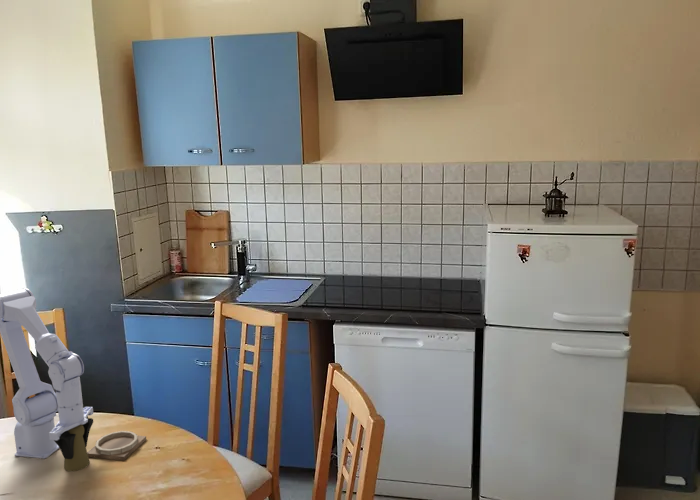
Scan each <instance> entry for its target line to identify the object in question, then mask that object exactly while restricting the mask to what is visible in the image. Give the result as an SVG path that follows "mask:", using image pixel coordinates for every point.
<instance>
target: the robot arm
mask: <svg viewBox="0 0 700 500" xmlns="http://www.w3.org/2000/svg"><path fill="white" fill-rule="evenodd" d="M36 309H37V300H36V297H35V295H34V293H33V291H31V290H30V289H29V288H27V287H26V288H25V287H23V288H21V289H17V290H13V291H10V292H9V291H8V292H4V293H0V336H1V338H2V342H3V345H4V347H5V351H6V352H7V356H8V359H9V361H10V364H11V367H12V370H13V372H14V376H15V378H16V382H17V384H18V388H19V389H18V390H17V392H16V393H15V395H14V396H13V398H12V399H11V401H12V406H13V407H12V408H13V414H14V415H13V416H14V417H15V418H14V419H15V420H16V424H15V427H14V430H13V431H14V432H13V436H14V442H15V443H14V444H15V450H16V452H15V453H14V456H16V457H23V458H24V457H25V458H32V459H33V458H35V459H47V458H49V457H50V456H51V455H52V454H54V453H55V452H56V451H57V450H60V452H61V454H62V456H63V459H72V458H73V454H74V452H73V444H74V439H75V436H76V434H70V432H68V430H69V429H72V428H74V427H76V426H78V425H80V424H81V425H83V427H84V434H83V439H84V443H85V446H86V448H87V446H88V442H89V434H90V431H91V428H92V426H93V424H94V419H93V418H91V417H89V416H92V415H93V414H94V408H93V406H84V404H83V403H84V402H83V396H82V395H83V394H82V384H81V378H80V377H81V376H82V375H83V374H84V371H85V365H84V362H83V360H82V358H81V357H80V355H79V354H77V353H74V351H71V350H70V351H69V349H67V346H66V345H65V344H64V343H63V342H62V340H61V338H60V337H59V336H58V335H57V334H56V333H50V332H49V330H48V329H47V328H48V327H46V325H45V324H44V323H45V322H44V321H43V320H42V318H41V316H40V315H39V313H38V311H37V310H36ZM23 328H24V329H25V330H26V332H27V333H28V334H29V335H30V336H31V338H33V339H34V340H35V342H36V343H35V346H34V348H35V350H36V351H37V353H38V355H40V357H41V359H42V360H43V361H44V363H45V364H46V365H47V366H48V371H47V373H48V376H49V379H50V380H51V383H52V384H50V383H46V382H43V381H41V379H40V375H39V373H38V370H37V367H36V364H35V362H34V359H33V356H32V353H31V350H30V348H29V345H28V342H27V339H26V337H25V333H24V331H23ZM28 397H29V398H28ZM57 413H58V422H57V423H56V424H55V417H57Z"/></svg>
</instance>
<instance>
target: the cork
mask: <svg viewBox="0 0 700 500" xmlns="http://www.w3.org/2000/svg"><path fill="white" fill-rule="evenodd" d="M68 432H70V434H76V436H75V439H74V444H73V452H74V454H73V458H72V459H64V458H63V459H64V460H63V469H64V470H65V471H66V472H67V471H68V472H77V471H81V470H83V469H85V468H87V467H88V466H89V465H90V463H91V461H90V457H88V454H87V452H88V451H87V447H86V446H85V443H84V439H83V434H84V427H83V425H81V424H80V425H78V426H76V427H74V428H72V429H69V430H68Z"/></svg>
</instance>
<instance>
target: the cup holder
mask: <svg viewBox="0 0 700 500" xmlns="http://www.w3.org/2000/svg"><path fill="white" fill-rule="evenodd" d="M146 440H147V436H146V435H138V434H137V433H135V432H133V431H130V430H129V431H128V430H119V431H113V432H110V433H107V434H104V435H103V436H101V437H100V438H98V439H97V440H96V441H95V445H94V446H93V447H92V448H90V449H89V450H88V451H87V454H88V458H95V459H108V460H115V461H116V460H118V461H125V460H127V458H128V457H130V456H131V455H132V454H133V453H134V452H135V451H137V449H138V448H139V447H140V446H141V445H143V443H144V442H145V441H146Z"/></svg>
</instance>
